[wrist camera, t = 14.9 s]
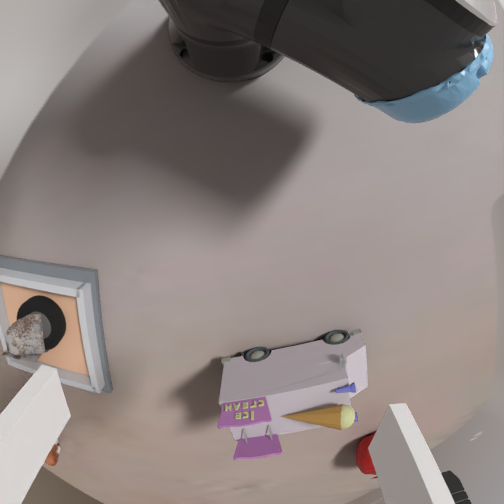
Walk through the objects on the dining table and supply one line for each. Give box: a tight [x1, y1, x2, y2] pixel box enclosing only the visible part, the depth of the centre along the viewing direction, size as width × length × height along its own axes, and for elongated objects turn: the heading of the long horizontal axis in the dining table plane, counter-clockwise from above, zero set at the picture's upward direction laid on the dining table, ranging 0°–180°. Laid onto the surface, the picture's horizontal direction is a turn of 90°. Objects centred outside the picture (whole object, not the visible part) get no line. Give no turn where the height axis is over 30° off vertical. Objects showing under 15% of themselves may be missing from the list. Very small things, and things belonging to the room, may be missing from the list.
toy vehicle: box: [217, 329, 368, 460], centre depth 38 cm, size 9×20×15 cm, turn 103°
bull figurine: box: [45, 439, 60, 466], centre depth 49 cm, size 4×13×8 cm, turn 23°
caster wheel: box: [2, 295, 66, 362], centre depth 41 cm, size 7×11×10 cm
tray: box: [0, 255, 113, 394], centre depth 43 cm, size 22×22×4 cm
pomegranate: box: [356, 432, 378, 479], centre depth 47 cm, size 10×10×9 cm
